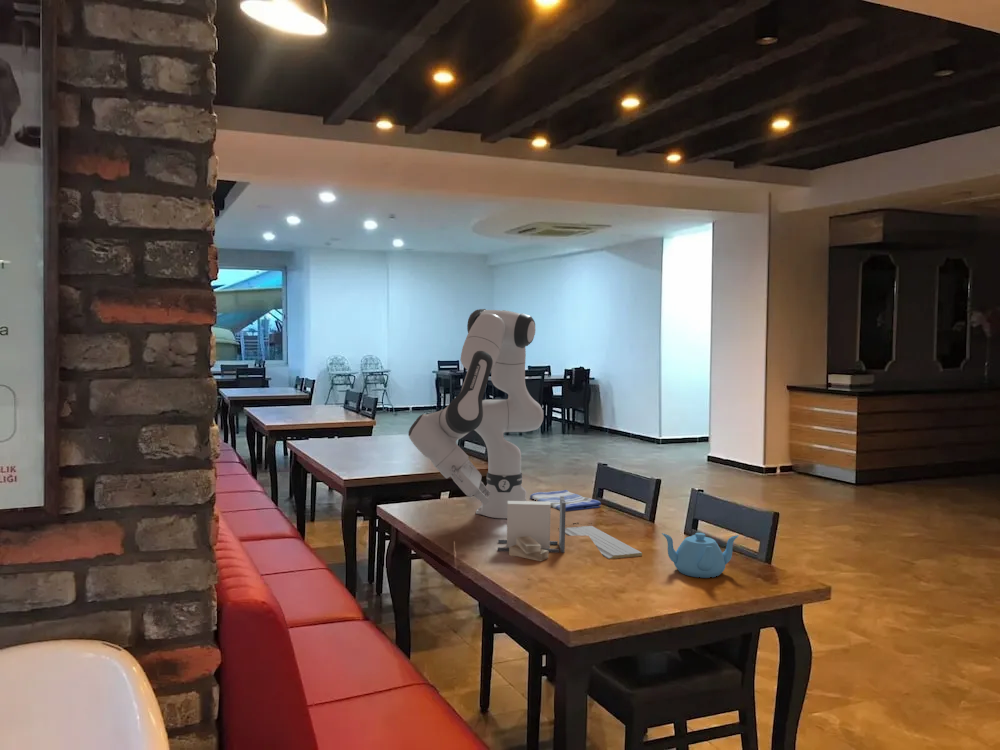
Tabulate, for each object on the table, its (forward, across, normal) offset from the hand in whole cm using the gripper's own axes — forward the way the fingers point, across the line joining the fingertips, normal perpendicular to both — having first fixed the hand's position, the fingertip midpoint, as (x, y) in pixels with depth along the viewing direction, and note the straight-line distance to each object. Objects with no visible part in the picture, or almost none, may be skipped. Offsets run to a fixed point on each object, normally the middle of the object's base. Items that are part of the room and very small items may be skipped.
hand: (487, 498), depth 217 cm
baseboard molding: (+34, +11, -12) cm, 37 cm away
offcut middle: (+18, -9, +1) cm, 20 cm away
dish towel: (+29, +64, -7) cm, 71 cm away
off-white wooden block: (+19, 0, +2) cm, 19 cm away
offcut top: (+16, -8, 0) cm, 18 cm away
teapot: (+50, -16, -29) cm, 60 cm away
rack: (+19, 0, +2) cm, 19 cm away
